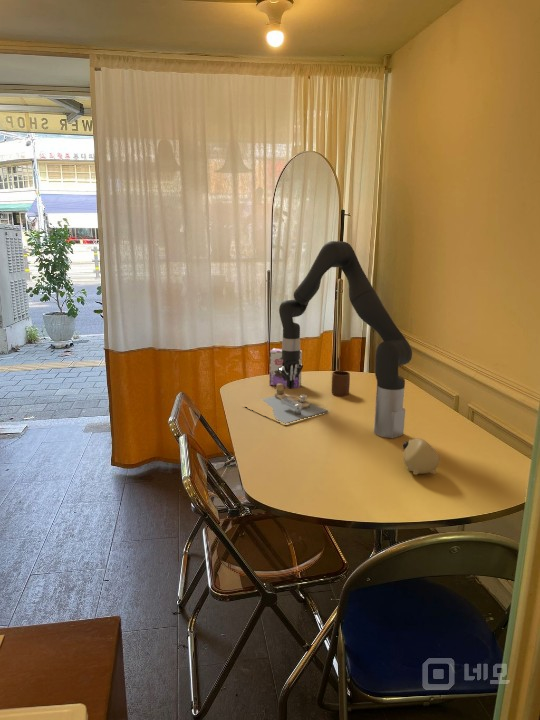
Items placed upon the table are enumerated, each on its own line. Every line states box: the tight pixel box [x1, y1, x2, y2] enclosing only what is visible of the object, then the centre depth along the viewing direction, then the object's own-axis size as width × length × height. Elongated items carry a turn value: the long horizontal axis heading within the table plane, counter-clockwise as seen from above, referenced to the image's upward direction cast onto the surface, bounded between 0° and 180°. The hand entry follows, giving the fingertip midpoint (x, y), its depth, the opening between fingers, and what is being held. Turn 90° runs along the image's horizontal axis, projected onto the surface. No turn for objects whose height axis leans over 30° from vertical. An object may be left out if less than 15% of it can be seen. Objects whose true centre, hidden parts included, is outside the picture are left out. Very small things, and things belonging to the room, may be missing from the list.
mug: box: [331, 369, 351, 397], centre depth 218 cm, size 12×8×9 cm, turn 6°
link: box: [274, 383, 310, 408], centre depth 202 cm, size 18×5×6 cm, turn 39°
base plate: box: [260, 392, 329, 424], centre depth 197 cm, size 26×22×1 cm
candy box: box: [268, 347, 303, 389], centre depth 226 cm, size 14×6×16 cm, turn 73°
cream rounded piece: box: [402, 437, 440, 476], centre depth 146 cm, size 10×12×11 cm
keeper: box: [281, 394, 308, 415], centre depth 194 cm, size 10×10×4 cm
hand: (290, 388), depth 211 cm, fingers closed
